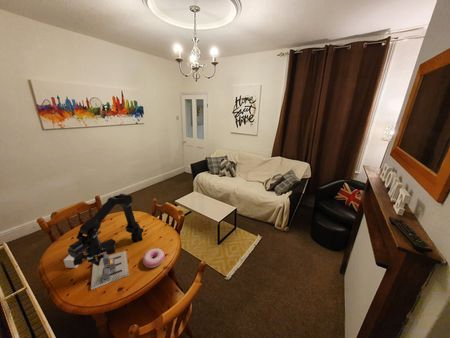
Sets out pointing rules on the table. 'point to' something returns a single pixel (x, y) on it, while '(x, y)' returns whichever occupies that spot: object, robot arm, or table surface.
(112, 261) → the breaker
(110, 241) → the black sponge
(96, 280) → the panel
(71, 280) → the table surface
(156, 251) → the donut
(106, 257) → the block
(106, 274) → the breaker
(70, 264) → the white cube
